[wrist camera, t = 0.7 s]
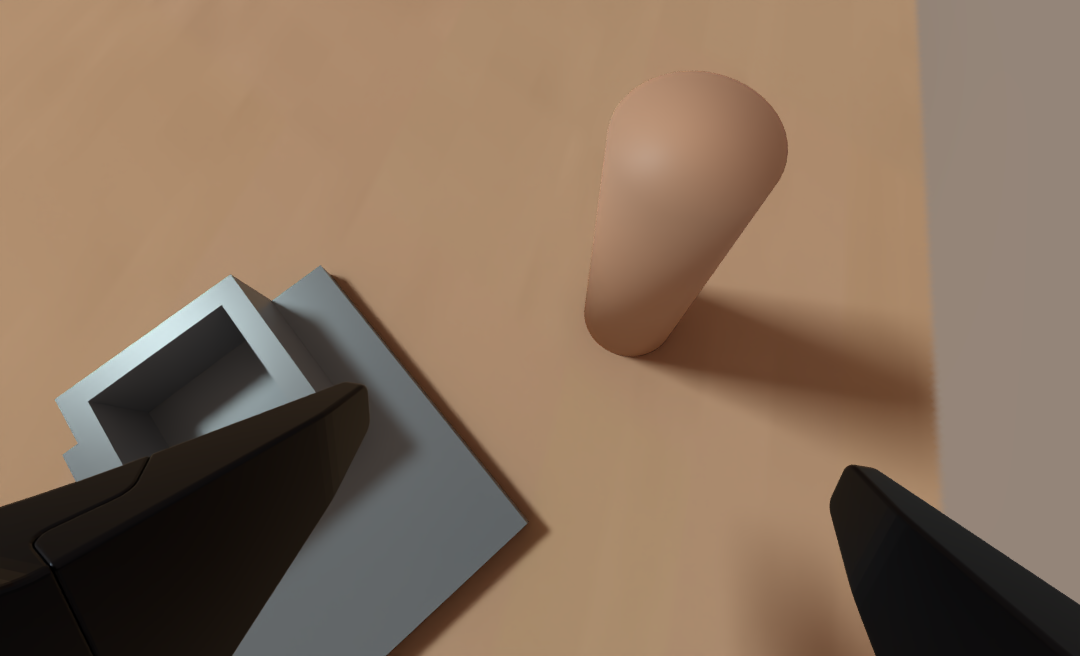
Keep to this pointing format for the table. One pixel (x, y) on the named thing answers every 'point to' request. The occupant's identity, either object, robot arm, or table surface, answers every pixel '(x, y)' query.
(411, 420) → the jig cradle
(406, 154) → the table surface
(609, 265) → the peg
